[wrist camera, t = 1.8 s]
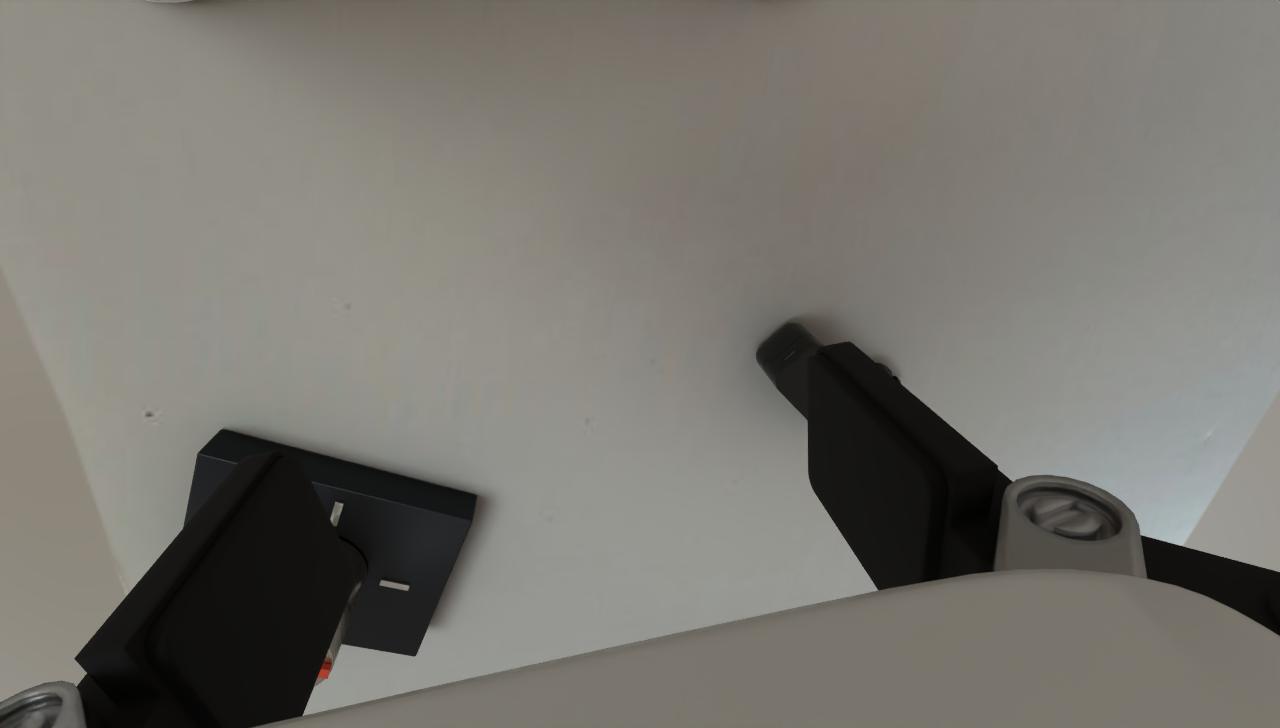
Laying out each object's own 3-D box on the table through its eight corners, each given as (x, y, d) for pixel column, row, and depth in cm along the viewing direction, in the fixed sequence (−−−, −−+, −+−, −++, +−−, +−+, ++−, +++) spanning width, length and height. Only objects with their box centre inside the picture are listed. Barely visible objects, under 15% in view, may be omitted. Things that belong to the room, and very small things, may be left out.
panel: (189, 583, 30) (164, 617, 28) (220, 428, 26) (194, 454, 24) (422, 626, 33) (414, 659, 31) (477, 494, 30) (472, 522, 28)
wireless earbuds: (826, 433, 31) (854, 468, 28) (747, 351, 28) (769, 381, 26) (895, 377, 30) (932, 408, 27) (821, 287, 27) (853, 310, 25)
